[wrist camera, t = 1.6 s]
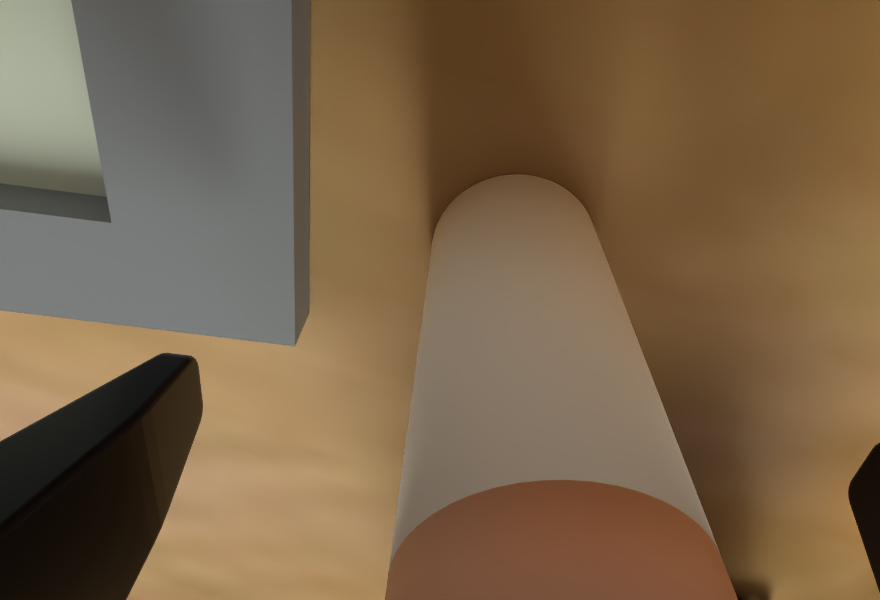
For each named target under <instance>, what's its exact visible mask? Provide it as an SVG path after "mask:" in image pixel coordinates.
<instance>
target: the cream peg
mask: <svg viewBox="0 0 880 600" xmlns="http://www.w3.org/2000/svg"><path fill="white" fill-rule="evenodd" d="M385 600H738V598H737V596H736V593H735V591H734V588H733V585H732V583H731V580H730V578H729V575H728V573H727V570H726V567H725V565H724V562H723V560H722V557H721V554H720V552H719V549H718V547H717V544H716V541H715V539H714V536H713V534H712V531H711V528H710V526H709V523H708V521H707V518H706V516H705V513H704V510H703V508H702V505H701V503H700V500H699V497H698V495H697V492H696V490H695V487H694V484H693V482H692V479H691V477H690V474H689V471H688V469H687V466H686V464H685V461H684V458H683V456H682V453H681V451H680V448H679V446H678V443H677V440H676V438H675V435H674V433H673V430H672V427H671V425H670V422H669V420H668V417H667V414H666V412H665V409H664V407H663V404H662V401H661V399H660V396H659V394H658V391H657V389H656V386H655V383H654V381H653V378H652V376H651V373H650V370H649V368H648V365H647V363H646V360H645V357H644V355H643V352H642V350H641V347H640V344H639V342H638V339H637V337H636V334H635V332H634V329H633V326H632V324H631V321H630V319H629V316H628V313H627V311H626V308H625V306H624V303H623V300H622V298H621V295H620V293H619V290H618V287H617V285H616V282H615V280H614V277H613V275H612V272H611V269H610V267H609V264H608V262H607V259H606V256H605V254H604V251H603V249H602V246H601V243H600V241H599V238H598V236H597V233H596V230H595V228H594V225H593V223H592V220H591V218H590V216H589V214H588V212H587V211H586V209H585V207H584V206H583V205H582V203H581V202H580V201H579V200H578V199H577V198H576V197H575V196H574V195H573V194H572V193H571V192H570V191H568V190H567V189H565V188H564V187H562V186H561V185H559V184H556V183H554V182H552V181H550V180H547V179H544V178H541V177H537V176H532V175H522V174H513V175H503V176H497V177H493V178H490V179H487V180H484V181H481V182H479V183H477V184H475V185H473V186H471V187H470V188H468V189H466V190H465V191H463V192H462V193H461V194H460V195H458V196H457V197H456V198H455V199H454V200H453V201H452V202H451V203H450V204H449V205H448V207H447V208H446V209H445V211H444V212H443V214H442V215H441V217H440V219H439V221H438V223H437V226H436V229H435V231H434V235H433V240H432V247H431V255H430V262H429V270H428V277H427V285H426V293H425V300H424V308H423V315H422V323H421V331H420V338H419V346H418V353H417V361H416V368H415V376H414V384H413V391H412V399H411V406H410V414H409V422H408V429H407V437H406V444H405V452H404V460H403V467H402V475H401V482H400V490H399V497H398V505H397V513H396V520H395V528H394V535H393V543H392V550H391V558H390V566H389V573H388V581H387V588H386V596H385Z"/></svg>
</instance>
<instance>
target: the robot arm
mask: <svg viewBox="0 0 880 600" xmlns="http://www.w3.org/2000/svg"><path fill="white" fill-rule="evenodd" d="M202 411H203V401H202V393H201V384H200V375H199V367H198V363H197V361H196V359H195V358H194V357H192V356H189V355H180V354H172V353H162V354H160V355H157V356H155V357H154V358H152V359H150V360H148V361H146V362H144V363H143V364H141V365H139V366H137V367H135V368H133V369H132V370H130V371H128V372H126V373H124V374H122V375H121V376H119V377H117V378H115V379H113V380H112V381H110V382H108V383H106V384H104V385H102V386H101V387H99V388H97V389H95V390H93V391H91V392H90V393H88V394H86V395H84V396H82V397H80V398H79V399H77V400H75V401H73V402H71V403H70V404H68V405H66V406H64V407H62V408H60V409H59V410H57V411H55V412H53V413H51V414H49V415H48V416H46V417H44V418H42V419H40V420H39V421H37V422H35V423H33V424H31V425H29V426H28V427H26V428H24V429H22V430H20V431H18V432H17V433H15V434H13V435H11V436H9V437H7V438H6V439H4V440H2V441H0V600H126V599H127V597H128V595H129V593H130V591H131V589H132V587H133V585H134V583H135V581H136V579H137V577H138V575H139V573H140V571H141V569H142V567H143V565H144V563H145V561H146V559H147V557H148V555H149V553H150V551H151V549H152V547H153V545H154V543H155V541H156V538H157V536H158V534H159V532H160V530H161V528H162V525H163V523H164V520H165V518H166V515H167V512H168V510H169V507H170V504H171V502H172V499H173V496H174V493H175V491H176V488H177V485H178V482H179V480H180V477H181V474H182V471H183V469H184V466H185V463H186V460H187V458H188V455H189V452H190V449H191V447H192V444H193V441H194V438H195V435H196V433H197V430H198V427H199V424H200V421H201V417H202ZM848 495H849V501H850V505H851V508H852V511H853V514H854V517H855V520H856V523H857V526H858V529H859V532H860V535H861V538H862V541H863V544H864V547H865V550H866V553H867V556H868V559H869V562H870V565H871V568H872V571H873V574H874V577H875V580H876V583H877V586H878V589H879V592H880V443H878V444H877V445H875V447H874V448H873V449H872V450H871V452H870V453H869V455H868V456H867V458H866V459H865V461H864V462H863V464H862V465H861V467H860V468H859V470H858V471H857V473H856V474H855V476H854V477H853V479H852V480H851V482H850V485H849V491H848Z"/></svg>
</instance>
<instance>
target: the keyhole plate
mask: <svg viewBox="0 0 880 600" xmlns="http://www.w3.org/2000/svg"><path fill="white" fill-rule="evenodd" d="M309 217H310V0H0V310H3V311H11V312H19V313H27V314H35V315H43V316H52V317H60V318H68V319H76V320H84V321H93V322H101V323H109V324H117V325H125V326H134V327H142V328H150V329H158V330H166V331H174V332H183V333H191V334H199V335H207V336H215V337H224V338H232V339H240V340H248V341H256V342H265V343H273V344H281V345H289V346H295V345H296V343H297V340H298V338H299V336H300V333H301V331H302V328H303V326H304V324H305V321H306V319H307V317H308V314H309Z"/></svg>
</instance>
